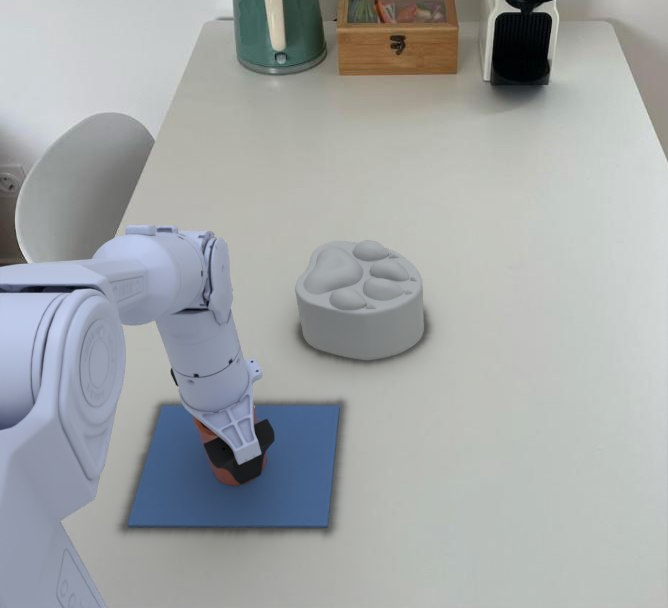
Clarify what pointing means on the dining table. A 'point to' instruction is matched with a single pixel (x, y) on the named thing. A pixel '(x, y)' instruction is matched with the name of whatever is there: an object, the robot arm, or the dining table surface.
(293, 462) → the towel
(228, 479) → the cup
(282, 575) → the dining table surface
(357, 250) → the lumpy-topped squat cylinder
